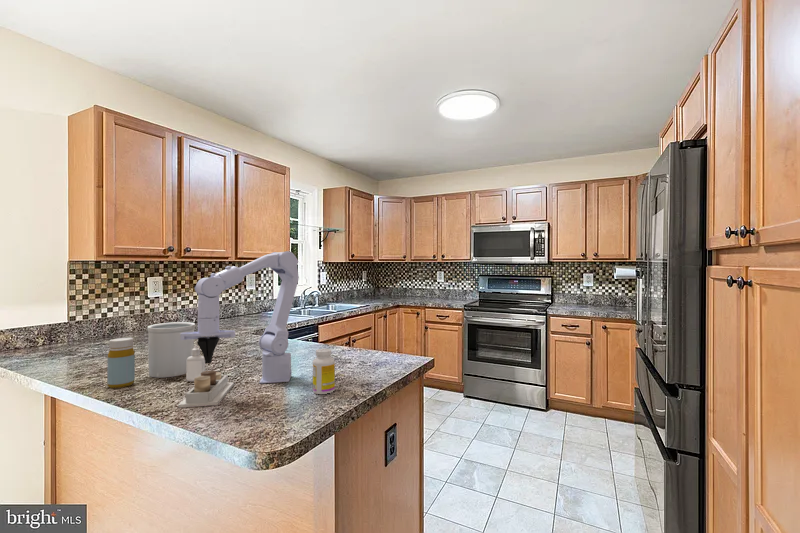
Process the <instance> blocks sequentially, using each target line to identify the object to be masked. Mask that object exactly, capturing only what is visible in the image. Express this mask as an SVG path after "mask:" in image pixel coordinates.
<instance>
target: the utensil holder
mask: <svg viewBox="0 0 800 533" xmlns="http://www.w3.org/2000/svg"><path fill="white" fill-rule="evenodd" d="M195 327H196V323H195V322H189V321H188V322H187V321H174V322H162V323H155V324H151V325H148V326H147V332H148V334H147V335H148V336H147V338H148V340H147V344H148V351H147V352H148V353H147V354H148V355H147V356H148V358H147V359H148V361H147V362H148V364H147V366H148V376H149V377H151V378H172V377H173V378H174V377H178V376H183V375H186V360H187V358H188V357H190V356H192V349H194V346H195V344H194V343H195V339H187V340H180V334H181V333H186V332H195Z"/></svg>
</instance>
